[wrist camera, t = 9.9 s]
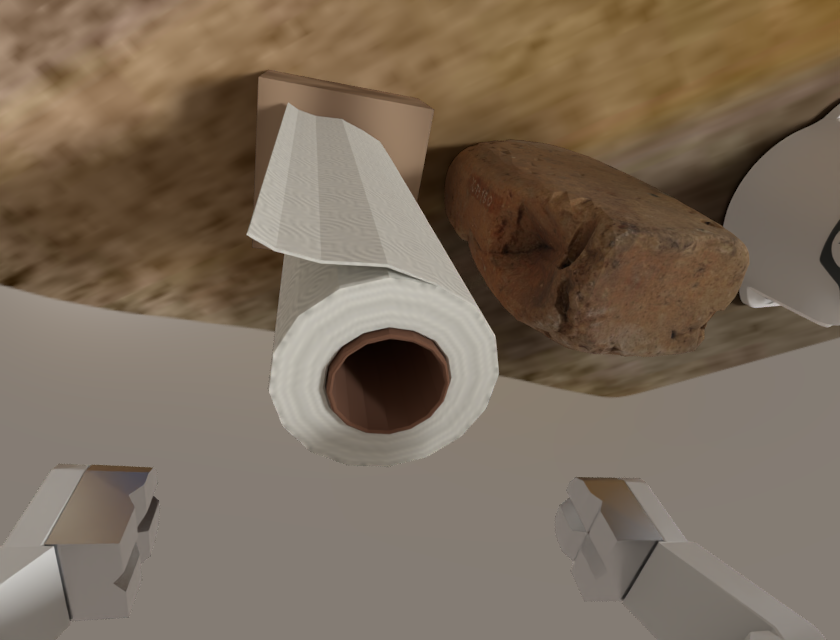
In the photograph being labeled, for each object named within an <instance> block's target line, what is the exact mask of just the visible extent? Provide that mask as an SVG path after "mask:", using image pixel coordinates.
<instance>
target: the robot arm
mask: <svg viewBox="0 0 840 640" xmlns="http://www.w3.org/2000/svg"><path fill="white" fill-rule="evenodd" d="M723 227H724V228H725V229H727V230H728V231H730V232H732V233H733V234H734V235H735V236H736V237H738V238H739V239H740V240H741V241H742V242H743V243H744V244H745V246H746V247H747V250H748V252H749V260H750V264H749V266H748V269H747V271H746V273H745V276H744V279H743V282H742V285H741V287H740V289H739V293H740V299H741V301H742V302H743V303H744V304H746V305H748V306H750V307H753V308H760V307H770V306H783V307H785V308H787V309H789V310H791V311H793V312H795V313H797V314H799V315H801V316H803V317H804V318H806V319H808V320H810V321H812V322H814V323H816V324H819V325H821V326H825V327H830V326H832V325H840V104H839V105H837V106H836V107H835V108H834V109H833V110H832V111H831V112H829V113H828V114H827V115H826V116H825V117H824V118H823V119H821V120H820V121H818V122H816V123H814V124H812V125H810V126H808V127H806V128H804V129H802V130H799V131H797V132H795V133H793V134H792V135H790V136H788V137H787V138H785V139H783V140H782V141H780V142H779V143H778V144H776V145H775V146H774V147H772V148H771V149H770V150H769V151H768V152H767V153H766V154H765V155H763V156H762V157H761V158H760V159H759V160H758V161H757V163H756V164H755V165H754V166H753V167H752V168H751V169H750V171H749V172H748V173H747V175H746V176H745V177H744V179H743V180H742V182H741V183H740V185H739V187H738V188H737V190H736V192H735V194H734V196H733V198H732V200H731V202H730V204H729V207H728V210H727V213H726V216H725V220H724V225H723ZM157 484H158V480H157V471H156V469H155V468H150V467H129V466H107V465H74V464H58V465H57V466H56V467H55V468H53V469H52V470H51V471H50V472H49V474H48V475H47V477H46V478H45V480H44V481H43V483H42V485H41V486H40V488H39V489H38V491H37V492H36V494H35V495H34V497H33V499H32V500H31V502H30V503H29V505H28V506H27V508H26V509H25V511H24V513H23V514H22V516H21V517H20V519H19V521H18V522H17V523H16V525H15V527H14V528H13V530H12V531H11V533H10V534H9V536H8V538H7V539H6V541H5V542H4V544H3V545H2V546H0V640H55V639H57V638H58V637H59V636H60V635H61V634H62V633H63V631H64V630H66V629H67V628H68V627H69V626H70V621H81V620H98V619H114V618H129V616H130V613H131V610H132V607H133V604H134V602H135V599H136V596H137V593H138V590H139V588H140V584H141V582H142V571H141V563H143V562H144V561H145V560H146V559H147V558H149V557H150V556H151V552H152V549H153V546H154V543H155V540H156V534H157V530H158V525H159V514H160V506H159V500H157V499H156V498H155V497H154V496H153V495H154V492H155V490H156V487H157ZM566 491H567V493H568V495H569V499H567V500H566V501H565V502H563V503H562V504H561V505H559V508H558V511H557V513H556V516H555V532H556V537H557V541H558V543H559V545H560V548H561V550H562V552H563V553H564V554H566V555H567V556H568V557H569V558H570V559H571V560H572V561H573V563H572V567H571V573H572V575H573V577H574V579H575V582H576V584H577V586H578V588H579V591H580V593H581V595H582V597H583V599H584V601H623V603H622V604H623V605H624V606H625V607H626V608H627V609H628V610H629V611H630V612H631V613H632V614H633V615H634V616H635V617H636V618H637V619H638V620H639V621H640V622H641V623H642V624H643V625H644V626H645V628H647V630H648V631H649V632H650V633H651V634H652V635H653V636H654V637H655V638H656V639H657V640H826V639H825V637H824V636H823V635H822V633H821V632H820V631H819V630H818V629H817V627H816V626H814V625H813V624H811V623H810V622H808V621H807V620H806V619H804V618H803V617H801V616H800V615H798V614H797V613H796V612H794V611H793V610H791V609H790V608H788V607H787V606H786V605H784V604H783V603H781V602H780V601H779V600H777V599H776V598H774V597H773V596H771V595H770V594H769V593H767V592H766V591H764V590H763V589H761V588H760V587H758V586H757V585H756V584H754V583H753V582H751V581H750V580H748V579H747V578H746V577H744V576H743V575H741V574H740V573H738V572H737V571H736V570H734V569H733V568H731V567H730V566H729V565H727V564H726V563H724V562H723V561H721V560H720V559H719V558H717V557H716V556H714V555H713V554H711V553H710V552H709V551H707V550H706V549H704V548H703V547H701V546H700V545H699V544H697V543H696V542H692V541H690V542H689V541H687V540H686V538H685V537H684V536H683V534H682V532H681V531H680V530H679V528H678V527H677V525H676V524H675V523H674V521H673V520H672V518H671V517H670V516H669V514H668V513H667V511H666V510H665V508H664V507H663V506H662V504H661V503H660V501H659V500H658V498H657V497H656V496H655V494H654V493H653V491H652V490H651V489H650V487H649V486H648V484H647V483H646V482H645V481H643V480H642V479H640V478H593V477H592V478H590V477H588V478H587V477H575V478H574V479H573V480H572V481H570V483H569V486H568V487H567V490H566Z"/></svg>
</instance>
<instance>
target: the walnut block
mask: <svg viewBox="0 0 840 640" xmlns="http://www.w3.org/2000/svg"><path fill="white" fill-rule="evenodd" d="M288 102H289V103H290V104H291V105H293V106H294V107H295V108H297V109H298V110H301V111H304V112H306V113H309V114H312V115H315V116H321V117H329V118H338V119H343V120H344V121H346V122H348V123H350V124H352V125H354V126H356V127H357V128H359V129H361V130H363V131H365V132H366V133H368V134H369V135H371V136H372V137H374V138H375V139H377V140H378V141H380V142H381V144H382V145H383V147H384V149H385V150H386V152H387V153H388V155H389V156H390V158H391V160H392V161H393V163H394V165H395V166H396V168H397V170H398V171H399V173H400V175H401V177H402V178H403V180H404V182H405V183H406V185H407V187H408V188H409V190H410V192H411V194H412V195H413V197H414V199H415V200H416V202H417V199H418V194H419V188H420V183H421V178H422V172H423V167H424V162H425V156H426V151H427V146H428V140H429V135H430V129H431V124H432V119H433V113H434V109H432V108H431V107H430V106H428V105H427V104H425V103H424V102H422V101H421V100H419V99H418V98H413V97H408V96H402V95H397V94H392V93H387V92H382V91H376V90H371V89H366V88H361V87H355V86H350V85H345V84H340V83H334V82H329V81H324V80H319V79H314V78H308V77H303V76H298V75H293V74H287V73H282V72H277V71H272V70H268V71H266V72H265V73H263V74H262V75H260V76H259V77H258V104H257V130H256V157H255V183H254V209H255V206H256V202H257V199H258V196H259V193H260V190H261V186H262V183H263V180H264V177H265V174H266V170H267V167H268V164H269V161H270V158H271V155H272V151H273V148H274V145H275V142H276V139H277V135H278V132H279V129H280V126H281V123H282V119H283V116H284V113H285V110H286V107H287V103H288ZM253 212H254V210H253ZM252 248H260V249H269V250H272V249H270V248H268V247H266V246H265V245H263V244H261V243H259V242H258V241H256V240H254V239H253V238H252Z"/></svg>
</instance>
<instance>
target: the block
mask: <svg viewBox="0 0 840 640" xmlns="http://www.w3.org/2000/svg"><path fill="white" fill-rule="evenodd" d="M445 210H446V214H447V217H448V219H449V221H450V223H451V225H452V226H453V227H454V229H455V230H456V233H457V234H458V235H459V236H460V238H461V239H463V240H465V241H468V243H469V248H470V251H471V254H472V257H473V260H474V261H475V263H476V266H477V269H478V270H479V272H480V273H481V275H482V276H483V278H484V280H485V282H486V284H487V285H488V287H489V288H490V290H491V291H492V292H493V294H494V295H495V296H496V297H497V299H498V300H499V301H500V303H501V304H502V306H503V307H504V308H505V309H506V310H507V311H508V312H509V313H510V314H512V315H513V316H514V317H515V318H516V320H518V321H520V322H522V323H524V324H526V325H528V326H530V327H532V328H533V329H535V330H537V331H539V332H541V333H543V334H544V335H545V336H547V337H548V338H550V339H552V340H553V341H555V342H557V343H559V344H561V345H563V346H565V347H567V348H570V349H574V350H578V351H582V352H586V353H590V354H617V355H621V356H641V357H653V356H663V355H676V354H682V353H687V352H692V351H695V350H696V348H697V347H698V346H699V345H700V343H701V342H702V341H703V340H704V338H705V335H704V329H705V327H706V325H707V322H708V321H709V319H710V318H711V317H712V316H713V315H714V313H715V312H716V311H718V310H721V311H724V310H725V308H726V307H727V306H728V305H729V304H730V303H731V302H732V300H733V299H734V298H735V296H736V294H737V292H738V291H739V289H740V287H741V285H742V282H743V279H744V276H745V273H746V271H747V269H748V266H749V264H750V260H749V252H748V250H747V247H746V246H745V244H744V243H743V242H742V241H741V240H740V239H739V238H738V237H736V236H735V235H734V234H733V233H732V232H730V231H728V230H727V229H725V228H724V227H723V226H721V225H720V224H718V223H716V222H715V221H713V220H711V219H709V218H708V217H706V216H705V215H703V214H701V213H700V212H698V211H696V210H694V209H692V208H690V207H689V206H687V205H685V204H683V203H682V202H680V201H679V200H677V199H675V198H673V197H671V196H670V195H668V194H666V193H664V192H662V191H660V190H658V189H657V188H655V187H653V186H651V185H649V184H647V183H645V182H643V181H641V180H639V179H637V178H635V177H632V176H630V175H628V174H626V173H624V172H622V171H619V170H617V169H615V168H613V167H611V166H609V165H606V164H604V163H602V162H600V161H598V160H596V159H593V158H591V157H588V156H585V155H582V154H579V153H576V152H573V151H570V150H568V149H565V148H561V147H557V146H553V145H549V144H544V143H538V142H529V141H524V140H506V141H491V142H482V143H477V144H476V145H474V146H470V147H468V148H466V149H465V150H463V151H462V152H461V153H459V154H458V155H457V156H456V157H455V159H454V160H453V161H452V163H451V165H450V166H449V168H448V171H447V175H446V181H445Z"/></svg>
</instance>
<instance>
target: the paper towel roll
mask: <svg viewBox="0 0 840 640" xmlns="http://www.w3.org/2000/svg"><path fill="white" fill-rule="evenodd" d="M246 235H247V236H249V237H251V238H253V239H254V240H256V241H258V242H259V243H261V244H263V245H265V246H266V247H268V248H270V249H272V250H273V251H276V252H280V253H283V254H284V261H283V270H282V278H281V286H280V294H279V303H278V311H277V319H276V327H275V336H274V344H273V353H272V361H271V369H270V378H269V386H268V391H269V394H270V396H271V399H272V401H273V404H274V406H275V409H276V411H277V414H278V416H279V419H280V421H281V423H282V426H283V427H284V428H285V429H286V430H287V431H288V432H289V433H290V434H291V435H293V436H294V437H295V438H296V439H297V440H298V441H299V442H300V443H302V444H303V445H304V446H305V447H306V448H307V449H308V450H309V451H310V452H313V453H316V454H318V455H321V456H324V457H326V458H329V459H332V460H335V461H337V462H340V463H343V464H346V465H354V466H380V467H381V466H382V467H388V466H393V465H397V464H401V463H405V462H408V461H412V460H417V459H421V458H424V457H428V456H429V455H431V454H433V453H434V452H436V451H438V450H440V449H441V448H443V447H445V446H446V445H448V444H450V443H451V442H453V441H455V440H456V439H458V438H460V437H461V436H462V435H463V434H464V433H465V432H466V431H467V430H468V429H469V427H470V426H471V425H472V424H473V423H474V422H475V421H476V419H477V418H478V417H479V416H480V415H481V414H482V413H483V412H484V410H485V409H486V408H487V406H488V403H489V400H490V397H491V395H492V392H493V389H494V386H495V384H496V381H497V378H498V376H499V368H498V357H497V346H496V336H495V334H494V333H493V331H492V329H491V328H490V326H489V324H488V322H487V321H486V319H485V317H484V316H483V314H482V312H481V311H480V309H479V307H478V306H477V304H476V302H475V300H474V299H473V297H472V295H471V294H470V292H469V290H468V289H467V287H466V285H465V283H464V282H463V280H462V278H461V277H460V275H459V273H458V272H457V270H456V268H455V266H454V265H453V263H452V261H451V260H450V258H449V256H448V255H447V253H446V251H445V250H444V248H443V246H442V244H441V243H440V241H439V239H438V238H437V236H436V234H435V233H434V231H433V229H432V227H431V226H430V224H429V222H428V221H427V219H426V217H425V216H424V214H423V212H422V210H421V209H420V207H419V205H418V204H417V202H416V200H415V199H414V197H413V195H412V194H411V192H410V190H409V188H408V187H407V185H406V183H405V182H404V180H403V178H402V177H401V175H400V173H399V171H398V170H397V168H396V166H395V165H394V163H393V161H392V160H391V158H390V156H389V155H388V153H387V152H386V150H385V149H384V147H383V145H382V144H381V142H380V141H378V140H377V139H375V138H374V137H372V136H371V135H369V134H368V133H366V132H365V131H363V130H361V129H359V128H357V127H356V126H354V125H352V124H350V123H348V122H346V121H344V120H343V119H338V118H329V117H321V116H315V115H312V114H309V113H306V112H304V111H301V110H298V109H297V108H295V107H294V106H293V105H291V104H290V103H289V102H288V103H287V107H286V110H285V113H284V116H283V119H282V123H281V126H280V129H279V132H278V135H277V139H276V142H275V145H274V148H273V151H272V155H271V158H270V161H269V164H268V167H267V170H266V174H265V177H264V180H263V183H262V186H261V190H260V193H259V196H258V199H257V202H256V206H255V209H254V212H253V215H252V218H251V222H250V225H249V228H248V231H247V234H246Z"/></svg>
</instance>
